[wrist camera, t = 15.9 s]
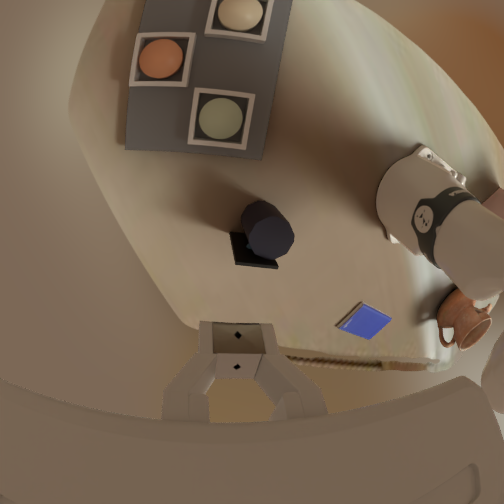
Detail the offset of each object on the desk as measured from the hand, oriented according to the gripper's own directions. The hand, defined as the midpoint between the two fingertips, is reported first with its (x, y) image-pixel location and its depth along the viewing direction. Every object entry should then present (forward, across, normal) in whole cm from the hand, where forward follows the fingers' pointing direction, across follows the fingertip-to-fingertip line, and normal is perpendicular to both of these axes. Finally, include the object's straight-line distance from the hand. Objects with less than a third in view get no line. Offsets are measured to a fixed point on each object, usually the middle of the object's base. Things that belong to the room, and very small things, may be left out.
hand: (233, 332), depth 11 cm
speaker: (+29, -6, +8) cm, 31 cm away
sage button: (+27, +1, -6) cm, 27 cm away
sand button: (+27, +1, -20) cm, 33 cm away
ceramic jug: (+29, -66, +26) cm, 77 cm away
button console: (+29, +4, -13) cm, 32 cm away
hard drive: (+30, -36, +31) cm, 56 cm away
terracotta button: (+27, +9, -13) cm, 31 cm away
